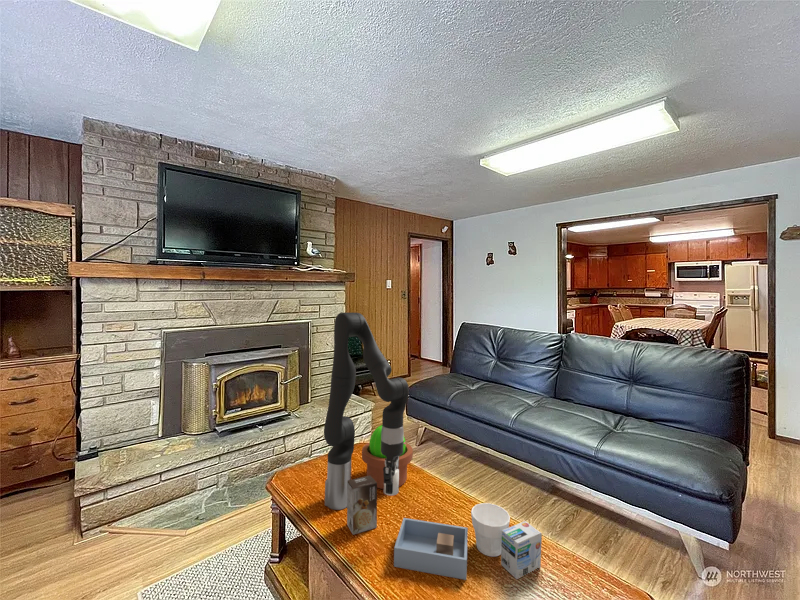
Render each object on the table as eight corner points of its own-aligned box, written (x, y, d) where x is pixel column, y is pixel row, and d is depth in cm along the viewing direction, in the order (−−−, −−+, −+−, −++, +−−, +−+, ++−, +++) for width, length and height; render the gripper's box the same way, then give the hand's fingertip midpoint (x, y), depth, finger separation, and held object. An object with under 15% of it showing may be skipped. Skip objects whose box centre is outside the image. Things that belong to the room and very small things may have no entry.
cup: (503, 567, 106) (504, 531, 106) (464, 551, 113) (465, 517, 113) (513, 543, 117) (514, 510, 117) (477, 529, 124) (478, 498, 123)
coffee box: (370, 517, 129) (371, 474, 129) (377, 528, 123) (378, 482, 123) (346, 524, 125) (347, 479, 124) (352, 535, 119) (353, 488, 119)
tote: (393, 566, 106) (394, 547, 106) (403, 534, 120) (403, 517, 120) (466, 579, 102) (466, 560, 101) (467, 545, 116) (467, 527, 116)
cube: (436, 559, 108) (436, 543, 108) (437, 547, 113) (438, 532, 113) (452, 562, 107) (452, 546, 107) (453, 550, 112) (453, 535, 112)
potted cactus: (351, 479, 155) (352, 423, 155) (385, 462, 172) (386, 411, 171) (387, 499, 141) (389, 437, 140) (421, 478, 157) (422, 423, 157)
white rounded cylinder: (381, 494, 115) (382, 473, 115) (385, 486, 120) (386, 466, 120) (396, 496, 114) (397, 475, 114) (399, 488, 119) (400, 467, 119)
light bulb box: (516, 580, 102) (517, 543, 102) (499, 564, 108) (500, 529, 108) (541, 567, 107) (542, 532, 107) (524, 553, 113) (525, 520, 113)
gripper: (386, 429, 125) (385, 476, 125) (375, 446, 111) (374, 499, 111) (407, 431, 123) (406, 479, 124) (398, 448, 109) (397, 502, 110)
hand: (391, 488), depth 117 cm, fingers closed on white rounded cylinder, 5 cm apart
